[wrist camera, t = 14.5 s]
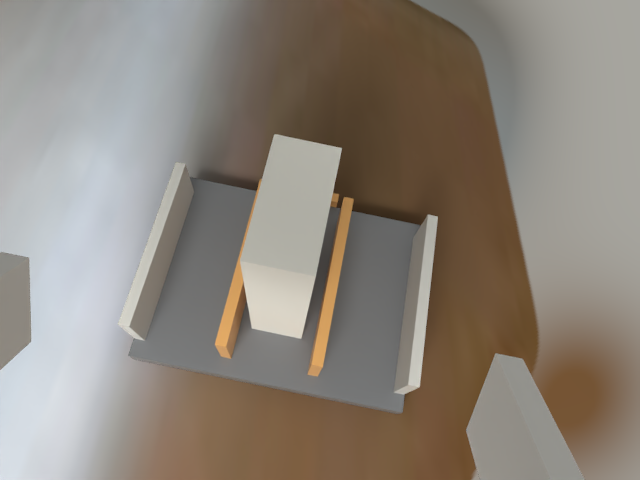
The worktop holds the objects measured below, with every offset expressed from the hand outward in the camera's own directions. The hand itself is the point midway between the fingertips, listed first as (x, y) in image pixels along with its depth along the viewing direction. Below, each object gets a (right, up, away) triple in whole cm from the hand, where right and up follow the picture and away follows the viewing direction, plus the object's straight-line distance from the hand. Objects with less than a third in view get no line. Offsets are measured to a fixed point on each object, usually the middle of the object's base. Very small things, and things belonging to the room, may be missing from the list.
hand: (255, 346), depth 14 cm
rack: (0, 0, +18) cm, 18 cm away
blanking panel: (0, 0, +17) cm, 17 cm away
